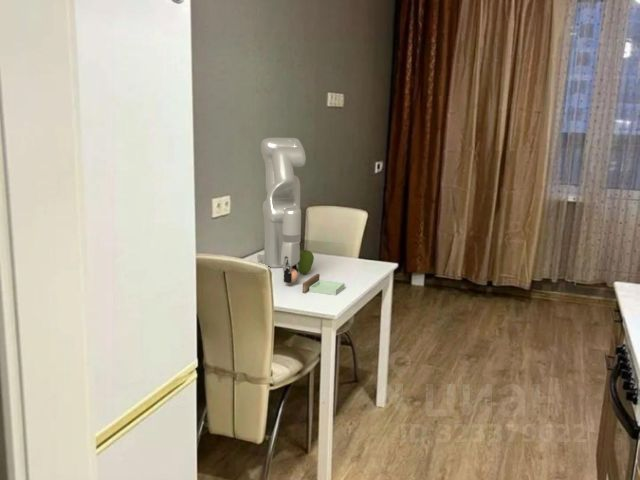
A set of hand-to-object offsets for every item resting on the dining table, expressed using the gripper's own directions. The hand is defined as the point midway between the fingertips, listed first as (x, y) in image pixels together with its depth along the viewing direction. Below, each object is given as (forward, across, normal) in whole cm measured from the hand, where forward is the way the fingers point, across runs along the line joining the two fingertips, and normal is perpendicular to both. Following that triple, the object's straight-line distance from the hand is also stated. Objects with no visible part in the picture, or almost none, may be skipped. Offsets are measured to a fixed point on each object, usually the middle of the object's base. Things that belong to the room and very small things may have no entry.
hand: (290, 279), depth 252 cm
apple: (+3, -18, -2) cm, 19 cm away
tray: (+2, +1, +16) cm, 17 cm away
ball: (+1, 0, 0) cm, 1 cm away
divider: (+2, +1, +10) cm, 10 cm away
